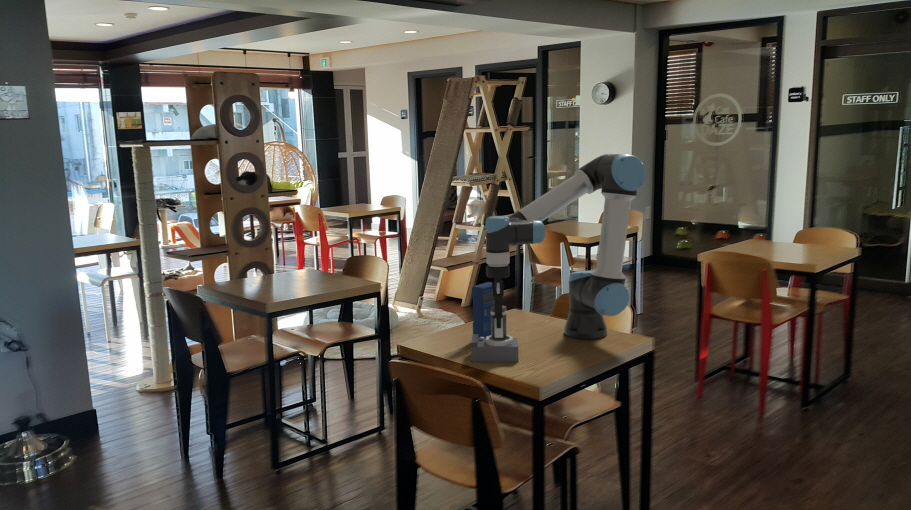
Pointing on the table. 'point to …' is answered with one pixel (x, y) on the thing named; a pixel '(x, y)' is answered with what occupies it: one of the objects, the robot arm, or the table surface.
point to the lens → (494, 323)
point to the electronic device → (482, 309)
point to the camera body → (494, 349)
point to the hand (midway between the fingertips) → (498, 334)
